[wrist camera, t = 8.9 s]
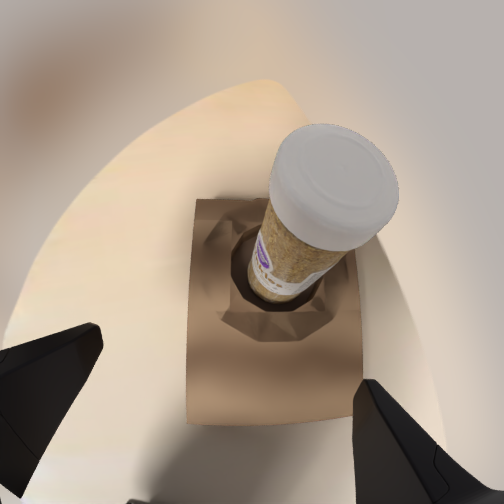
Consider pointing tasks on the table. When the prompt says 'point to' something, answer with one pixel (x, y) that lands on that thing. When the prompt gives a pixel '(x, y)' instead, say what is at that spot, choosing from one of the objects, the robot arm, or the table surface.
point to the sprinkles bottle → (319, 208)
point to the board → (265, 331)
